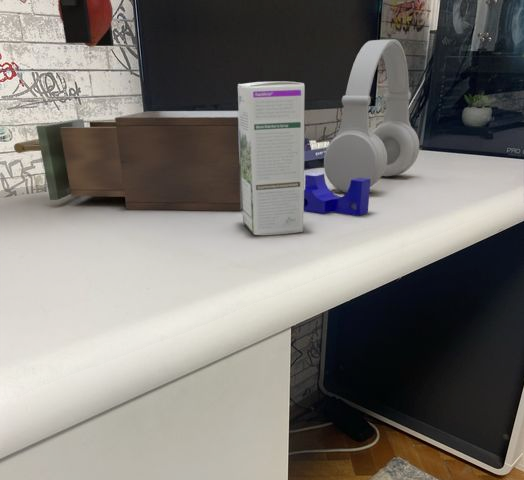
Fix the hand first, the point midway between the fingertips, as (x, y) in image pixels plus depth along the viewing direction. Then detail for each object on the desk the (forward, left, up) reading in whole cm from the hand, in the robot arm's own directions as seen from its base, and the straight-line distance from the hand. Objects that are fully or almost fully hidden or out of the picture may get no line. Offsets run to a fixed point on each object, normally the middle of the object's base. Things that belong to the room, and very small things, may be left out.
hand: (90, 44), depth 62 cm
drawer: (-5, +2, -18) cm, 18 cm away
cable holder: (+25, +14, -19) cm, 34 cm away
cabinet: (+6, +9, -19) cm, 21 cm away
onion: (0, 0, 0) cm, 0 cm away
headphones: (+20, +34, -19) cm, 44 cm away
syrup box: (+24, +3, -19) cm, 31 cm away
